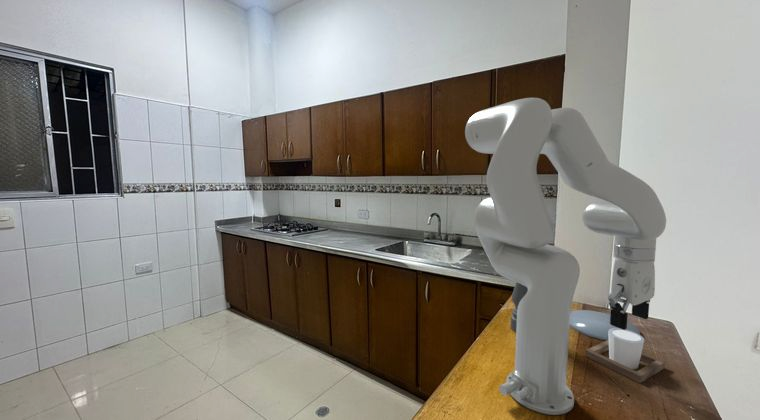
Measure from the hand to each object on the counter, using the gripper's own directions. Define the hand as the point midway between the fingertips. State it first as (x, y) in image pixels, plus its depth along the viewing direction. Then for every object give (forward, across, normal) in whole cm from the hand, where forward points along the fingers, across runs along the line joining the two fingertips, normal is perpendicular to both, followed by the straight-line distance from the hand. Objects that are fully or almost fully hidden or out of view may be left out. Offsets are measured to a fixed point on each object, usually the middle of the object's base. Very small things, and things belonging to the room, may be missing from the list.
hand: (629, 321), depth 74 cm
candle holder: (+10, -9, +23) cm, 26 cm away
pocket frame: (+10, -1, 0) cm, 10 cm away
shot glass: (+10, -1, 0) cm, 10 cm away
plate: (+10, +13, +13) cm, 21 cm away
